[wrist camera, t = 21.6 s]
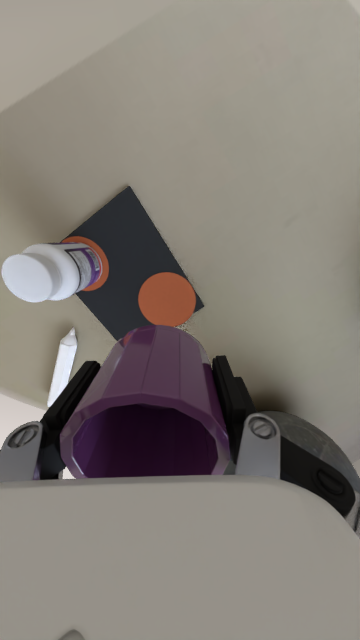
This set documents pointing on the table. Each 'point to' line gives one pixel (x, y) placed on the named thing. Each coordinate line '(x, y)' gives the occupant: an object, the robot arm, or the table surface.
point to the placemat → (133, 270)
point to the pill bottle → (51, 271)
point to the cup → (149, 412)
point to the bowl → (310, 445)
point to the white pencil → (63, 365)
